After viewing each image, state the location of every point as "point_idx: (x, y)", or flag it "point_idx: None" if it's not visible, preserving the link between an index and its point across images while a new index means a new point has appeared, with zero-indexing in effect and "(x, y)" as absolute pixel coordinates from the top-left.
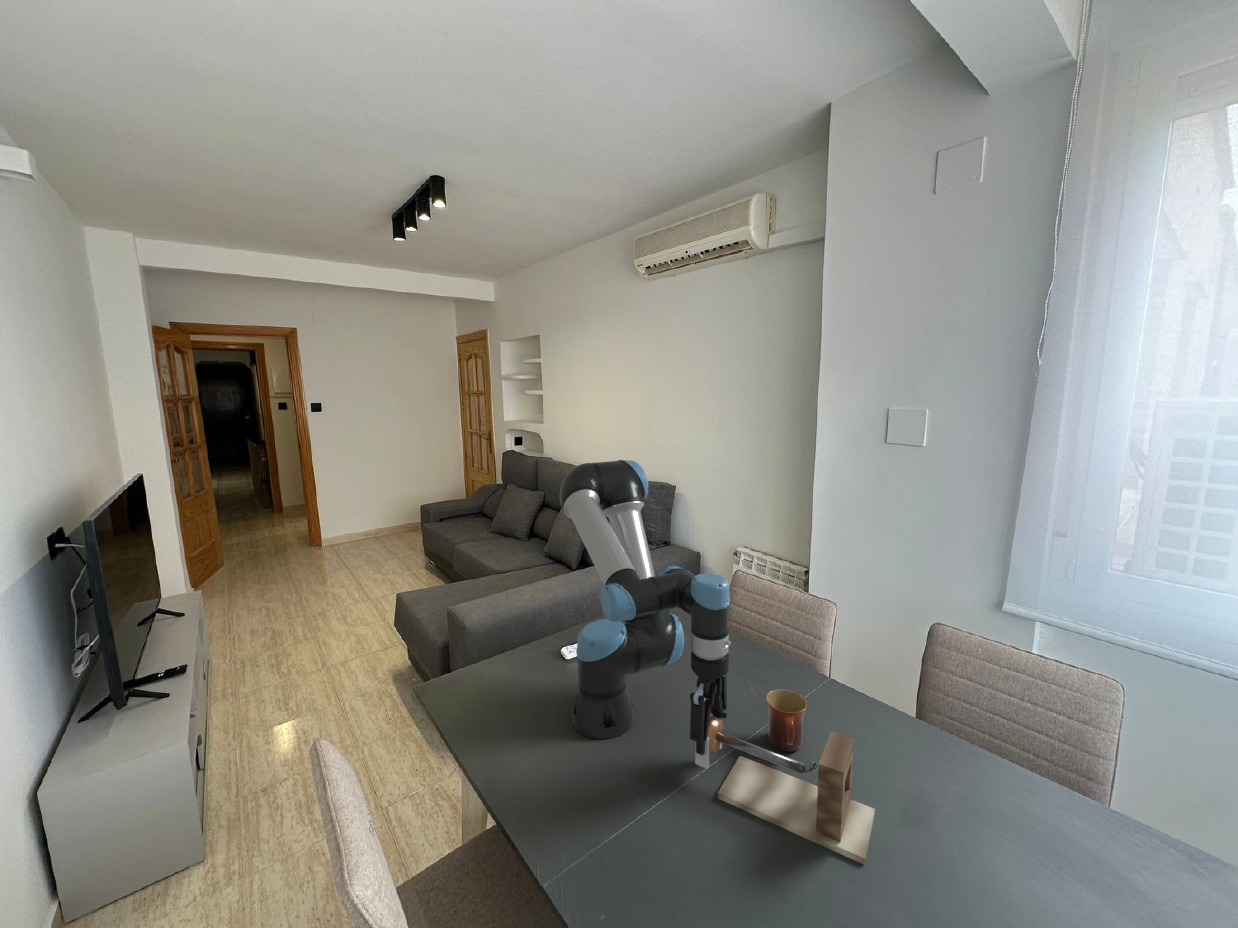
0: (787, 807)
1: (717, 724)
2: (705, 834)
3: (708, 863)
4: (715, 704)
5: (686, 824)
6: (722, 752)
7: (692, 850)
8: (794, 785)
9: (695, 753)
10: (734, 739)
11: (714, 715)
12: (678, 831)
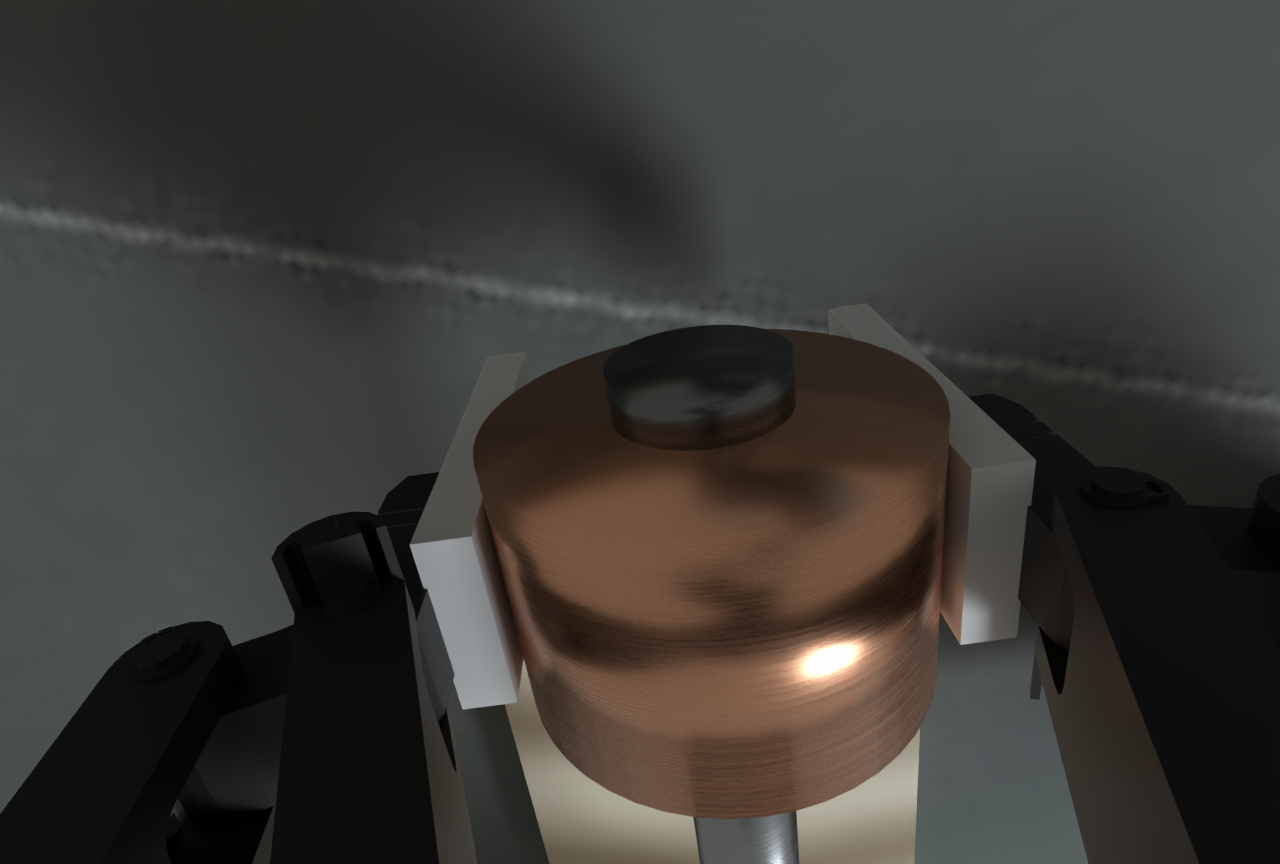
0: (659, 849)
1: (730, 805)
2: (173, 606)
3: (48, 700)
4: (1110, 835)
5: (118, 490)
6: (932, 320)
7: (20, 609)
8: (848, 817)
9: (467, 407)
10: (736, 846)
11: (1034, 541)
12: (28, 483)
